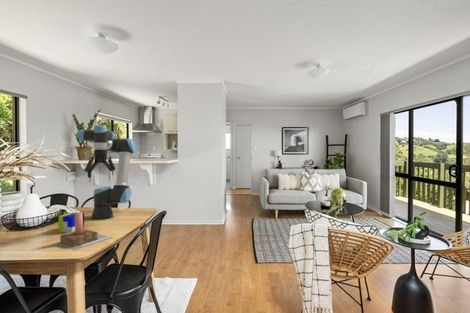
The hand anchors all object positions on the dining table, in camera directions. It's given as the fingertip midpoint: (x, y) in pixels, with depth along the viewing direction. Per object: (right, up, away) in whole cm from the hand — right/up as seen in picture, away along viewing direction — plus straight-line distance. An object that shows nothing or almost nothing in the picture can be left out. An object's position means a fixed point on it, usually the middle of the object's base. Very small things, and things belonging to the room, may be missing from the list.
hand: (100, 181), depth 166 cm
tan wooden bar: (0, -32, -23) cm, 39 cm away
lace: (+10, -32, -23) cm, 40 cm away
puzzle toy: (-19, -32, 0) cm, 37 cm away
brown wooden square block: (0, -32, -23) cm, 39 cm away
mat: (+2, -32, -22) cm, 39 cm away
